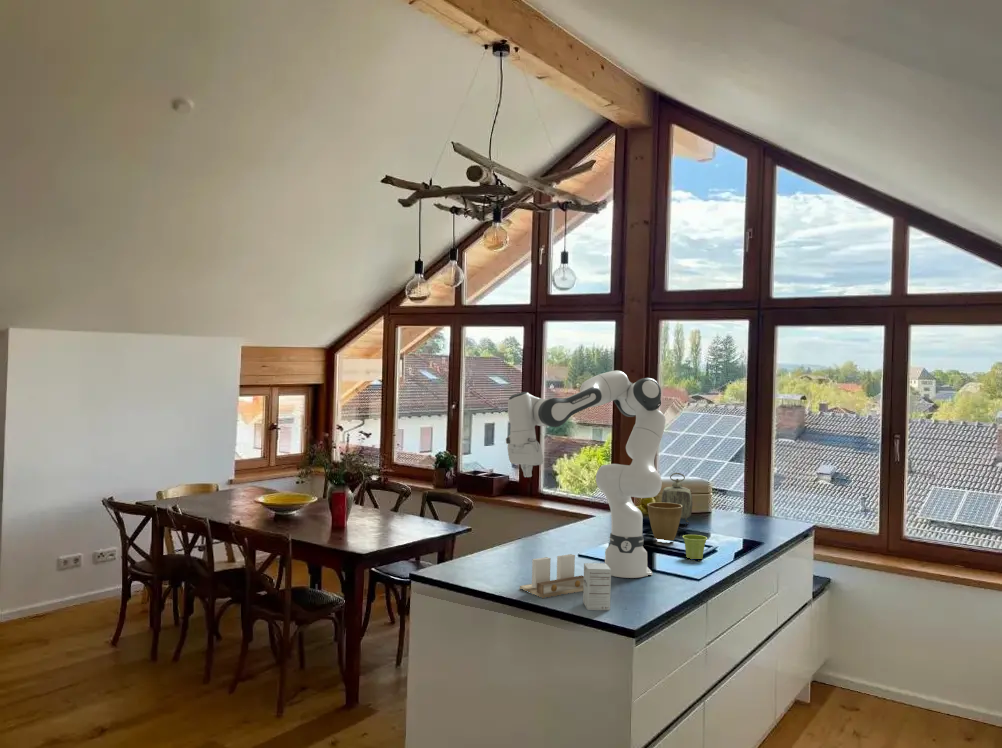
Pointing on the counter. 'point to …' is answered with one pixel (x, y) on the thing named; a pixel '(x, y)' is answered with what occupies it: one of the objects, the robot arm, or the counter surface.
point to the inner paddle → (565, 566)
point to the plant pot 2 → (694, 546)
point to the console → (556, 587)
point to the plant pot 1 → (664, 519)
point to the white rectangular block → (540, 570)
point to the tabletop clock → (679, 497)
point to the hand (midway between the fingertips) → (528, 476)
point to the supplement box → (597, 586)
